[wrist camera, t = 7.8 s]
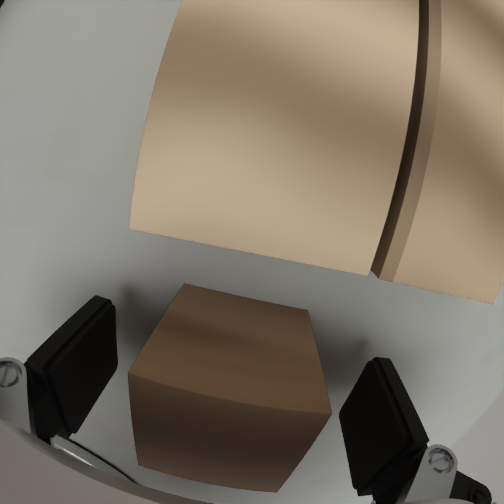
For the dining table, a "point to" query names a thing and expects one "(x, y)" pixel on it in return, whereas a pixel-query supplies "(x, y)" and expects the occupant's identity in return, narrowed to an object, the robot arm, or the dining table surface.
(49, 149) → the dining table surface
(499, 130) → the laid board
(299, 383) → the walnut block
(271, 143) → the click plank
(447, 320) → the dining table surface
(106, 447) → the dining table surface
